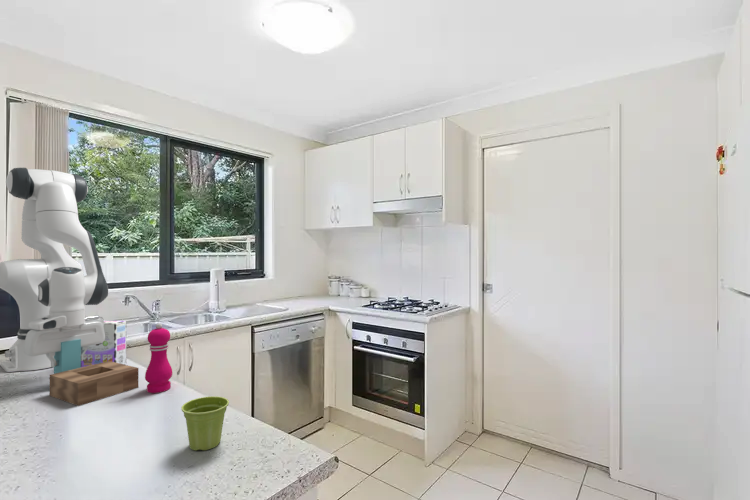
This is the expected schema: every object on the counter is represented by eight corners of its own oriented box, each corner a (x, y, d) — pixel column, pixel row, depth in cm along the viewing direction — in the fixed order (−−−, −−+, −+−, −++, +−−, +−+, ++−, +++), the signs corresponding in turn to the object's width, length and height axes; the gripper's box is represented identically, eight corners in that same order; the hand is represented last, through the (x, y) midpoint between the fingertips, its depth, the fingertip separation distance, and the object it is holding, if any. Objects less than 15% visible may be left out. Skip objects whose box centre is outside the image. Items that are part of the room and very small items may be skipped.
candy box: (127, 364, 142) (127, 320, 142) (115, 369, 136) (115, 323, 136) (92, 363, 143) (92, 319, 143) (79, 368, 137) (79, 322, 138)
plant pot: (215, 430, 90) (215, 392, 90) (237, 442, 84) (237, 402, 84) (173, 445, 83) (173, 405, 83) (194, 460, 77) (194, 417, 77)
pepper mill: (160, 394, 112) (160, 325, 112) (139, 392, 114) (139, 324, 114) (177, 386, 119) (177, 321, 119) (157, 384, 121) (157, 320, 121)
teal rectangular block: (53, 386, 119) (53, 340, 119) (72, 381, 124) (72, 337, 124) (61, 388, 117) (62, 342, 117) (80, 383, 121) (80, 339, 122)
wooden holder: (49, 395, 111) (49, 374, 111) (109, 379, 126) (109, 361, 126) (78, 405, 104) (78, 383, 104) (138, 387, 118) (138, 367, 118)
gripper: (98, 313, 131) (98, 354, 131) (21, 323, 113) (21, 371, 113) (109, 315, 128) (108, 357, 128) (31, 325, 110) (31, 374, 110)
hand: (67, 363), depth 120 cm, fingers closed on teal rectangular block, 5 cm apart
